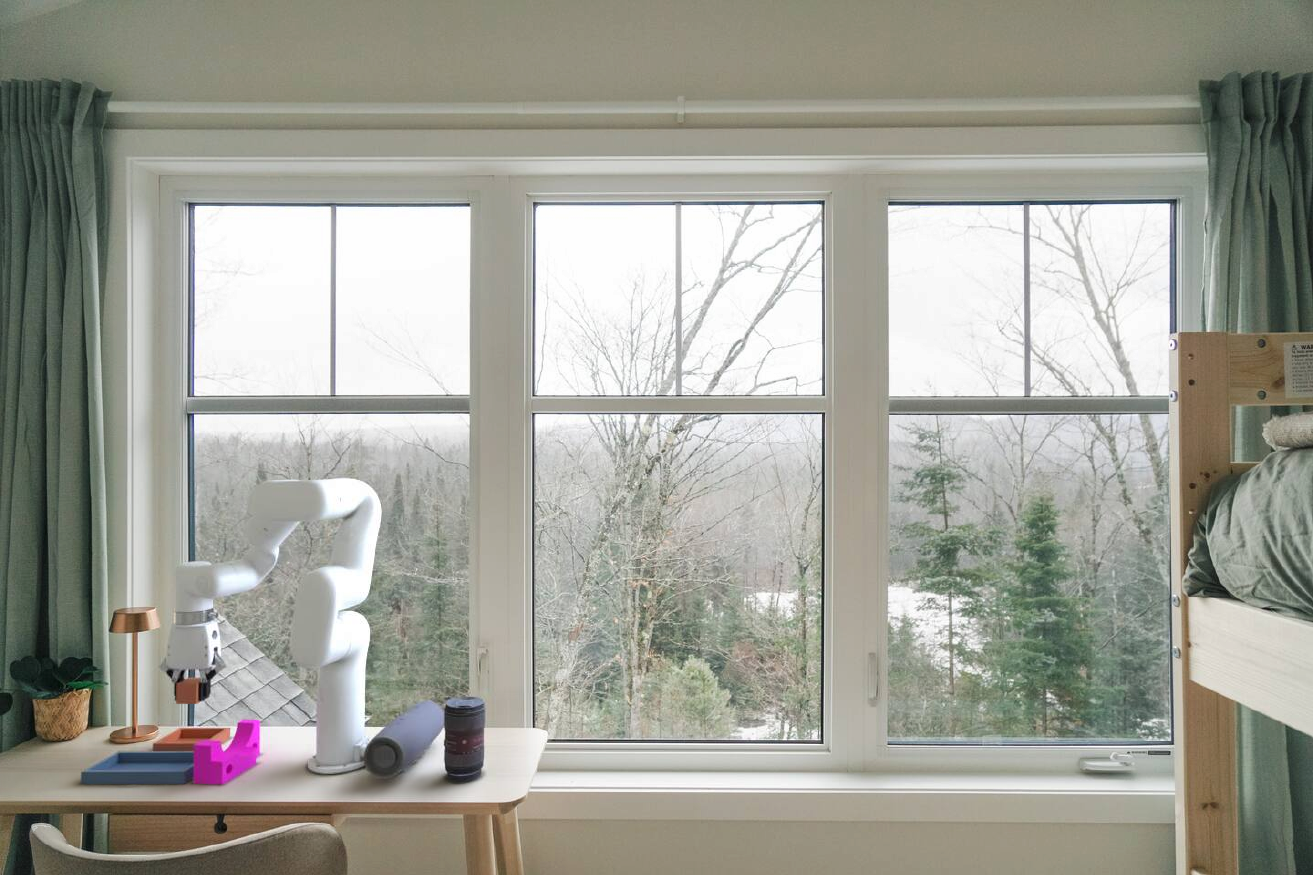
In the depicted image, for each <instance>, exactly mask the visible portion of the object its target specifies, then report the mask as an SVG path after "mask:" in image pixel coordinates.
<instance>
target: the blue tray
mask: <svg viewBox="0 0 1313 875" xmlns="http://www.w3.org/2000/svg"><path fill="white" fill-rule="evenodd" d="M192 779H194V751H153V750H149V751H148V750H146V751H145V750H143V751H142V750H141V751H139V750H138V751H137V750H136V751H135V750H132V751H129V750H128V751H125V750H124V751H116V752H114V753H113V754H111V755H109V756H107V757H105V758H103V759H102V760H100V761H98V762H97V763H94V764H92V765H91V766H89V767H87V768H86V769H83V770H82V771H80V785H136V784H137V785H171V784H173V785H175V784H176V785H179V784H180V785H181V784H182V785H183V784H184V785H185V784H186V783H188V782H189V781H191V780H192Z"/></svg>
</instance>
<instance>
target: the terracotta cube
mask: <svg viewBox="0 0 1313 875" xmlns="http://www.w3.org/2000/svg"><path fill="white" fill-rule="evenodd" d="M184 679H185V680H183V681H181V682H179V683H177V690H176V701H175V703H176V705H197V704H199V703H201V702H202V701H199V683H201V678H200V677H188V678H187V677H186V678H184Z"/></svg>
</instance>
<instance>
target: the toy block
mask: <svg viewBox="0 0 1313 875" xmlns="http://www.w3.org/2000/svg"><path fill="white" fill-rule="evenodd" d="M236 725H237V726H236V730H235V731H236V732H235V733H234V736H233V738H232V740H231V742H230V744H229V745H228V746H227V747H226V749H223V746H222V744H221V741H213V740H203V741H201V742H199V743H197V744H195V745H194V777H193V784H201V785H203V784H204V785H220V786H223V785H224V784H226V783H228V782H229V781H231V780H233V779H235V778H236V777H238V776H239V775H241V774H242V773H244V772H246V771H247V770H249V769H250V768H253V767H254V766H255V765H257V757H259V756H260V755H261V753H260V752H261V751H260V750H261V748H260V747H261V746H260V745H261V719H247V718H246V719H245V718H244V719H242V720H240V721H238V722H237V724H236Z"/></svg>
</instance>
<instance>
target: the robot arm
mask: <svg viewBox="0 0 1313 875" xmlns="http://www.w3.org/2000/svg"><path fill="white" fill-rule="evenodd" d="M246 504H247V510H248V513H249V514H250V515H251V517H249V518H248V519H247V520H246V522H245V523H243V524H244V525H243V527H242V534H243V537H244V538H245V540H246V541H247V542H248V544H250V545H251V547H250V548H249V550H247V551H246V553H245V554H244V555H243V556H242V557H240V558H239V559H234V560H227V561H223V562H217V563H211V562H210V561H206V560H205V561H204V560H203V561H202V560H200V561H197V560H195V561H187V562H186V561H185V562H182V563H179V564H178V565H177V566H176V567H175V569H174V597H173V598H174V600H173V602H174V603H173V605H174V606H173V623H172V624H171V625H170V629H169V632H168V637H167V645H166V655H165V658H164V659H163V661H162V662H161V663H160V664H159V667H158V668H159V669H160V670H161V671H162V672H163V673H166V675H167V676H168V677H169V678H170V680H171V683H173V695H174V701H175V702H176V690H177V683H179V682H181V681H183V680H185V679H186V678H185V677H186V672H187V670H189V671H190V670H195V671H197V670H198V672H199V673H198V674H199V678H201V683H199V701H201V702H203V701H205V700H207V699H208V698H210V695H211V691H212V688H211V687H212V680H213V679H214V677H216V676H217V675H218V674H219V673H220V672H221V671H223V670H224V669H226V667H227V664H226V663H225V661H224V660H223V658H222V649H221V648H222V647H221V646H222V645H221V637H220V635H221V634H220V629H219V626H218V625H219V624H218V622H217V621H214V619H219V618H218V617H219V612H217V611H216V612H215V609H214V600H215V599H220V598H224V597H228V596H232V595H236V594H241V593H246V592H249V591H251V590H252V589H254V588H255V587H257V586H259V584H260V583H262V581H263V580H264V579H266V577H267V576H268V575H269V574H270V573H271V572H272V570H273V569H274V568H275V566H276V564H277V561H278V558H279V554H280V546H281V545H282V543H283V542H284V541H285V540H286V539H287V538H288V536H290V534H291V533H292V532H293V531H294V530H295V529H296V528H297V526H299V525H300V523H309V522H310V523H311V522H312V523H313V522H321V521H330V520H336V519H340V520H342V523H341V525H340V527H339V528H338V530H337V532H336V534H335V536H334V540H333V543H332V549H331V550H332V552H331V554H330V555H331V556H330V560H329V562H328V565H327V566H322V567H318V568H315V569H313V570H311V571H309V572H308V573H307V574H305V575H304V577H303V578H302V579H301V581H300V583H299V585H298V587H297V590H296V593H295V599H294V607H293V614H292V620H291V626H290V633H289V634H290V636H289V651H290V655H291V657H292V659H293V662H294V663H296V665H297V666H299V667H300V668H302V669H306V670H315V669H318V673H317V676H316V678H317V679H316V706H315V707H316V709H315V710H316V712H315V713H316V714H315V715H316V716H315V717H316V720H315V722H316V723H315V724H316V726H315V730H316V731H315V732H316V734H315V745H316V746H315V754H313V755H312V756H310V757H309V759H308V761H307V768H308V769H309V770H310V771H311V772H313V773H316V774H326V775H331V774H341V773H347V772H351V771H354V770H358V769H360V768H362V767H364V766H365V764H364V752H365V749H366V747H367V745H368V744H369V743H370V735H365V733H366V732H365V729H366V726H365V724H366V718H365V717H366V716H365V714H366V710H365V709H366V667H367V666H366V665H367V657H368V653H369V652H368V651H369V646H370V641H371V629H370V625H369V622H368V621H367V619H366V618H365V617H364V615H362V614H361V613H359V612H358V611H354V610H348V609H351V608H352V607H356V606H358V605H360V604H361V603H363V602H364V601H365V600H366V599H367V597H368V595H369V593H370V589H371V582H372V576H373V569H374V562H375V555H376V546H377V541H378V535H379V531H380V527H381V521H382V506H381V501H380V499H379V496H378V494H377V493H376V492H375V490H374V489H373V488H372V487H371V486H370V485H369V484H367V483H366V482H364V481H362V480H360V479H357V478H349V477H342V478H341V477H338V478H337V477H336V478H326V479H323V478H322V479H304V480H301V479H275V480H265V481H262V482H260V483H258V484H257V485H255V486H254V488H252V489H251V491H250V492H249V495H248V496H247V503H246ZM346 609H347V610H346ZM212 666H215V667H212Z"/></svg>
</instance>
